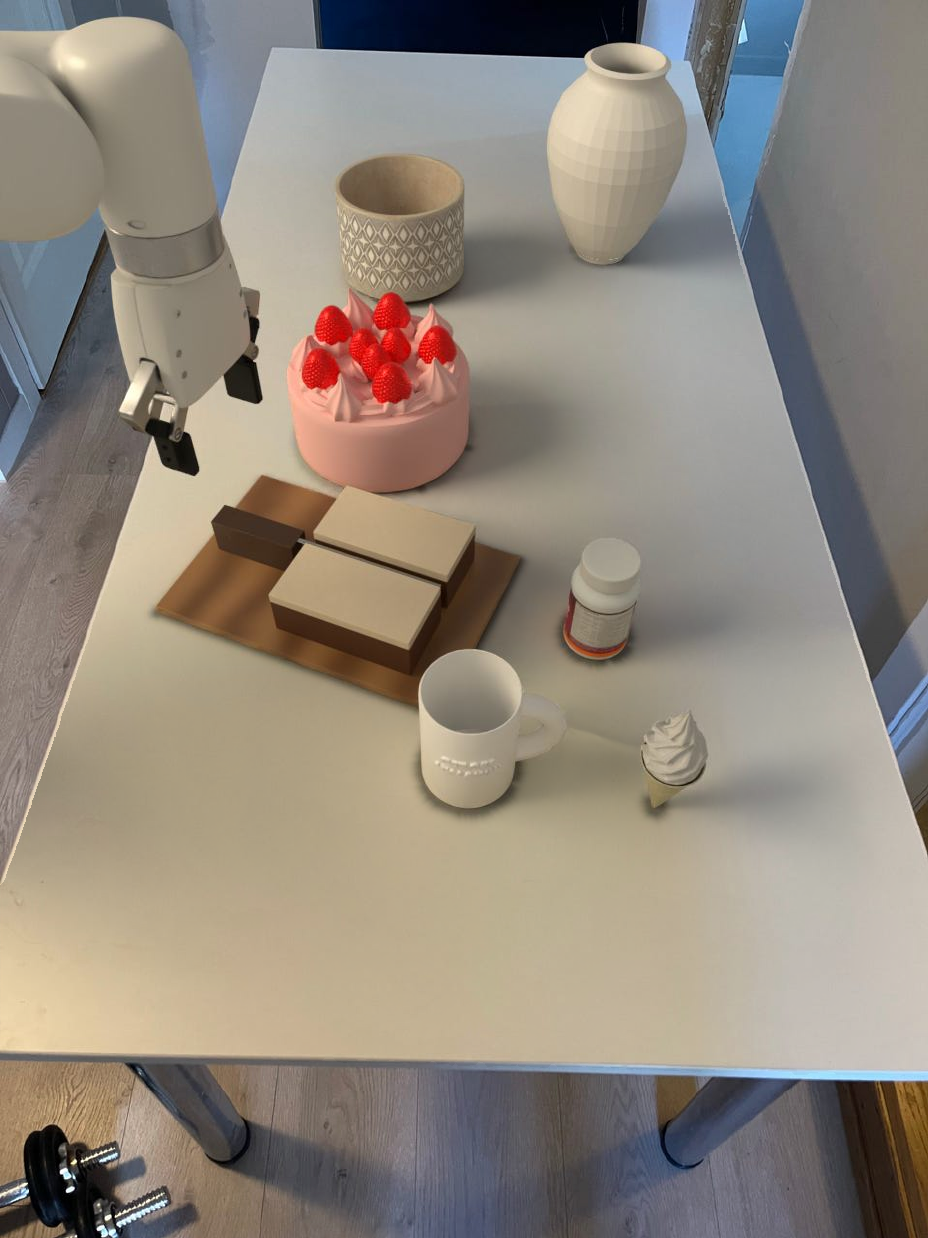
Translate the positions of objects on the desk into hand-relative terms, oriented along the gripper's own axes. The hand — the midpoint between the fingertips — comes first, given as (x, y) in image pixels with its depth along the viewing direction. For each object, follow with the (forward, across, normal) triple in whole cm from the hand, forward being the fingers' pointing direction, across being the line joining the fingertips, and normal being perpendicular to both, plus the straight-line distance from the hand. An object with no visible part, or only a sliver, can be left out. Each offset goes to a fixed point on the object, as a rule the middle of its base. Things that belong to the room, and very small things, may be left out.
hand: (214, 432), depth 75 cm
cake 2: (+18, -8, +12) cm, 24 cm away
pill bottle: (+20, -7, +33) cm, 39 cm away
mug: (+20, +10, +29) cm, 37 cm away
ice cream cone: (+20, +8, +43) cm, 48 cm away
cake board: (+20, -4, +8) cm, 21 cm away
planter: (+19, -56, -10) cm, 60 cm away
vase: (+19, -74, +13) cm, 77 cm away
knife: (+19, -3, +7) cm, 20 cm away
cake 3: (+19, +1, +12) cm, 22 cm away
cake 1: (+20, -26, +2) cm, 32 cm away
